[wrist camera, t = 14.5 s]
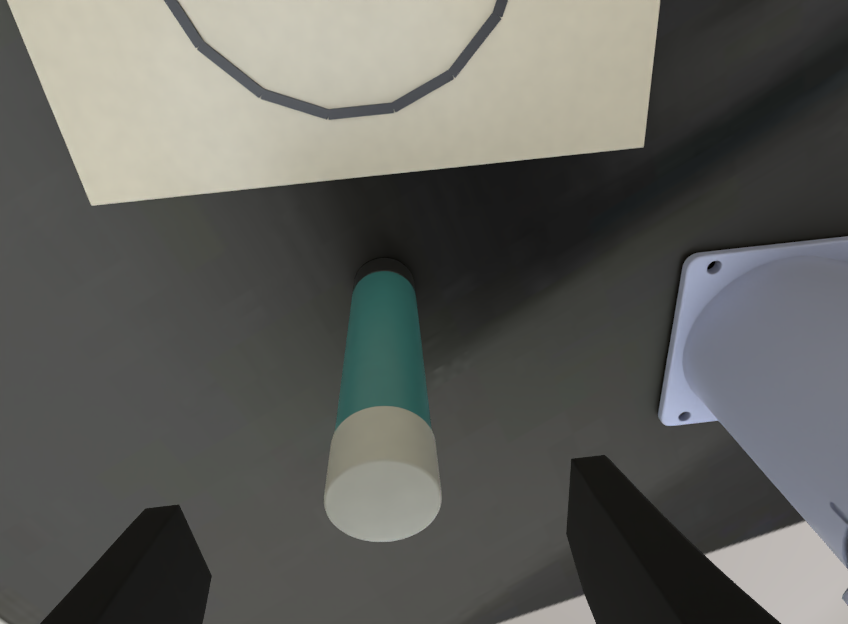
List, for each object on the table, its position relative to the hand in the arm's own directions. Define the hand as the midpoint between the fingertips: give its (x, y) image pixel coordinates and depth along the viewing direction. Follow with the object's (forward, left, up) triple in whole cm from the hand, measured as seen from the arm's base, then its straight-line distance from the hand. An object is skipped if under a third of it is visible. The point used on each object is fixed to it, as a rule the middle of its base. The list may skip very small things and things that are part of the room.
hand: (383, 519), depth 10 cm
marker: (0, 0, -10) cm, 10 cm away
